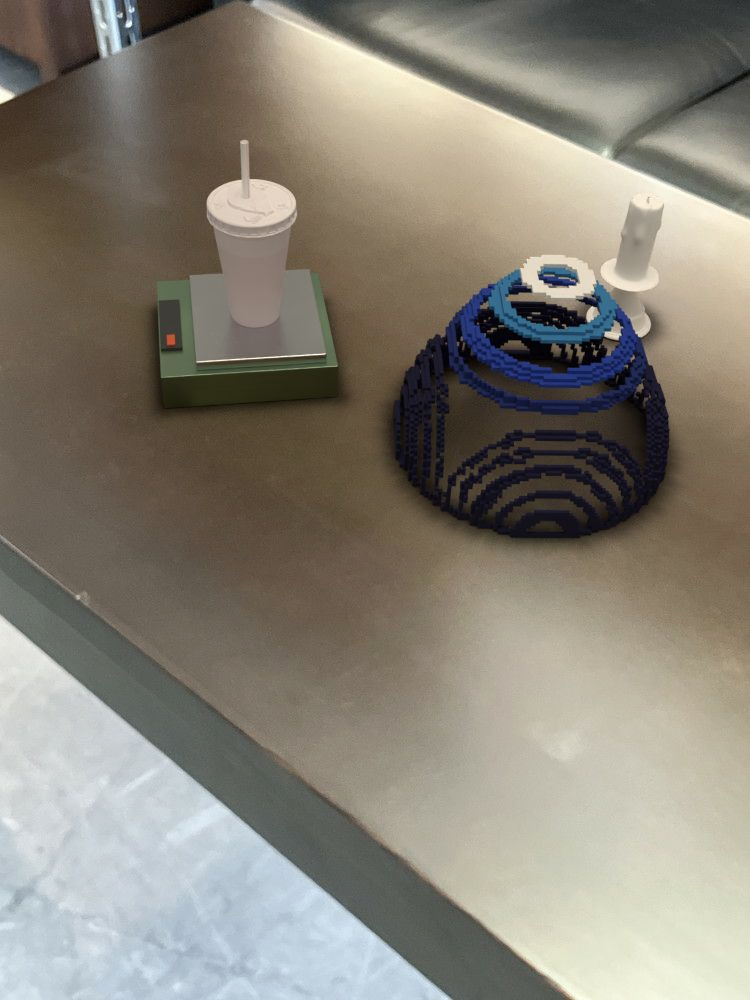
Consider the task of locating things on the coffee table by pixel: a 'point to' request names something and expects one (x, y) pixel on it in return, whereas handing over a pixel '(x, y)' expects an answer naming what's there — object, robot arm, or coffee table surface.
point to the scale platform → (250, 347)
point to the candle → (633, 264)
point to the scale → (232, 383)
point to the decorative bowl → (540, 348)
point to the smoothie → (252, 243)
